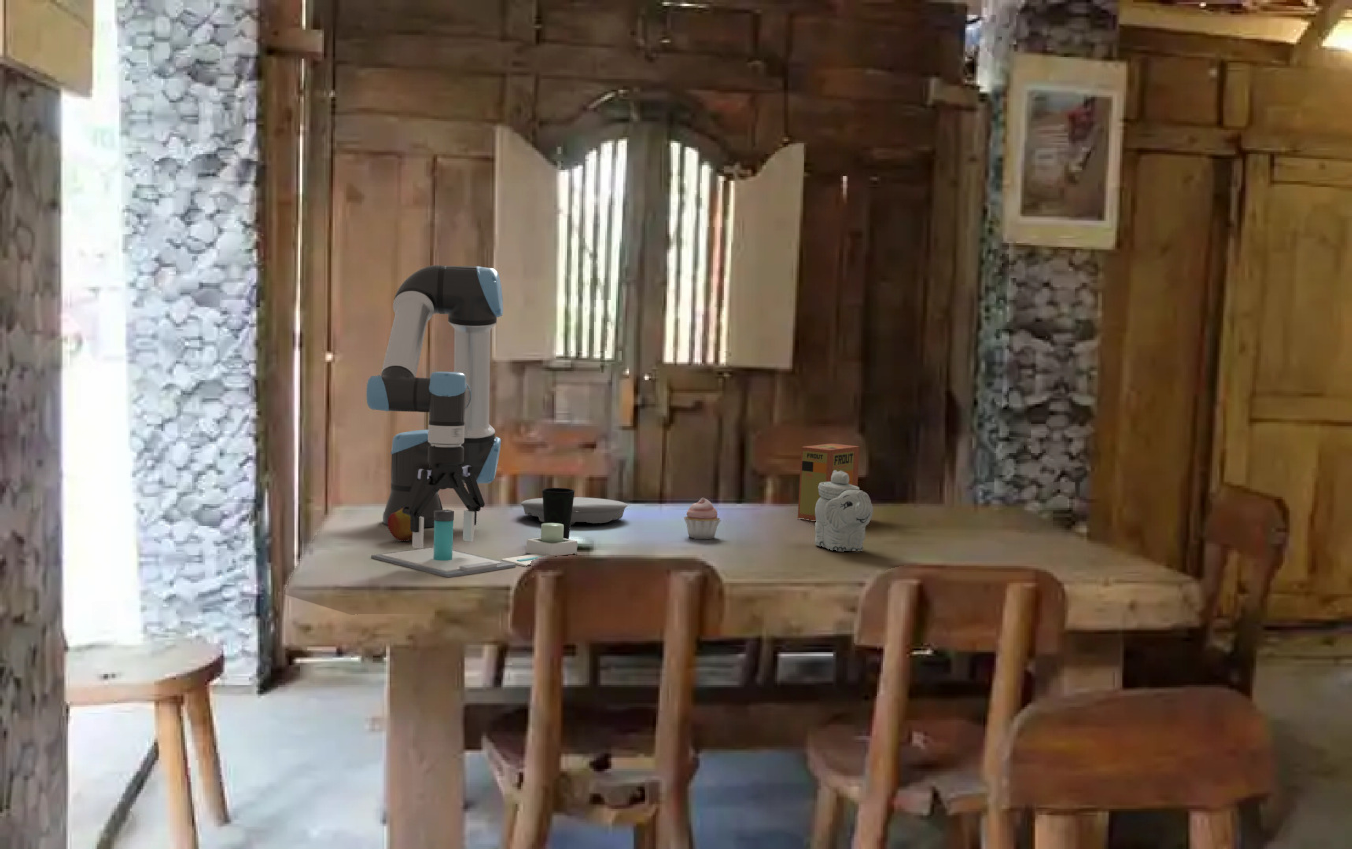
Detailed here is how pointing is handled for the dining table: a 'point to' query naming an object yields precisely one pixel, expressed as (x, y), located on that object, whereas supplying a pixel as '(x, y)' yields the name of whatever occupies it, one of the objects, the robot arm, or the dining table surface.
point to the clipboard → (443, 562)
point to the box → (823, 472)
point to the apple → (400, 526)
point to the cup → (558, 507)
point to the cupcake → (702, 520)
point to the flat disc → (581, 509)
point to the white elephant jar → (841, 514)
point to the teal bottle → (443, 535)
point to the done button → (552, 532)
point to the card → (522, 559)
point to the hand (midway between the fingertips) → (443, 544)
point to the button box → (551, 547)
